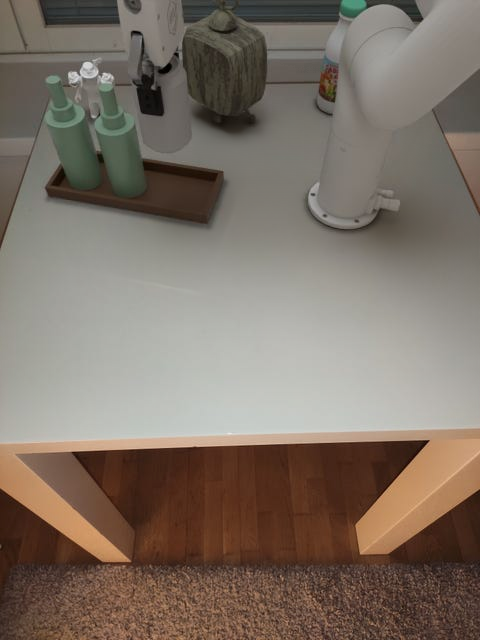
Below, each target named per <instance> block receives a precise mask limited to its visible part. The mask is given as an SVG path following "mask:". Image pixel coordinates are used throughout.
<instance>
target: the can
mask: <svg viewBox="0 0 480 640" xmlns="http://www.w3.org/2000/svg"><path fill="white" fill-rule="evenodd" d="M143 60H145V61H151V59H150V58H149V56H148V55H143ZM181 64H182V63H181V59H180V58H179V59H178V58H177V57H176V56H175V55H173V56H172V58H171V59H170V61H169V63H168V68H169V72H168V73H166V68H165V67H163V68H161V67H160V66H158V86H161V91H162V98H163V106H164V115H163V116H154V115H146V114H142V113H141V111H140V106H139V101H138V96H137V90H136V88H135V87H134V84H133V82H132V79H131V78H130V83H131V88H132V93H133V99H134V105H135V109H136V114H137V119H138V124H139V130H140V134H141V140H142V143H143V145H145V146H146V147H147V148H149V149H151V150H152V151H154V152H156V153H159V154H174V153H178V152H179V151H181V150H183V149H184V148H185V147H186V146H187V145H189V143H190V142H191V140H192V139H193V137H192V136H193V131H192V121H191V110H190V109H191V107H190V97H189V96H190V95H189V94H188V86H187V75H186V71H185V69H184V68H183V65H181ZM142 70H143V73H144V74H147V75H148V76H149V77H150V78H151V67H149V66H142Z"/></svg>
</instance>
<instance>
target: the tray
mask: <svg viewBox="0 0 480 640" xmlns="http://www.w3.org/2000/svg"><path fill="white" fill-rule="evenodd" d="M96 152H97V156H98V159H99V162H100V166H101V169H102V173H103V181H102V183H101V184H100V185H99V186H97V187H96V188H94V189H91V190H87V191H81V190H75V189H73V188H72V187H71V186H70V185H69V183H68V180H67V178H66V175H65V172H64V170H63V167H62V164H61V162H60V164H59V165H58V166H57V167H56V169H55V171H54V172H53V174H52V175H51V177H50V178H49V180H48V182H47V183H46V184H45V186H44V190H45V192H46V195H47V196H48V197H51V198H54V199H55V198H56V199H61V200H66V201H67V200H68V201H74V202H78V203H85V204H91V205H95V206H101V207H107V208H113V209H118V210H124V211H130V212H136V213H141V214H148V215H154V216H159V217H163V218H170V219H175V220H182V221H186V222H187V221H188V222H191V223H192V222H193V223H198V224H203V225H204V224H205V225H208V224H209V221H210V218H211V216H212V213H213V210H214V209H215V205H216V202H217V200H218V198H219V194H220V192H221V188H222V187H223V183H224V181H225V176H224V175H225V173H224V170H221V169H220V170H219V169H213V168H208V167H201V166H195V165H189V164H183V163H175V162H170V161H164V160H157V159H151V158H145V157H142V161H143V166H144V171H145V176H146V181H147V188H146V190H145V191H144V192H143V193H142V194H141V195H139V196H137V197H134V198H121V197H118V196H117V195H115V194H114V193H113V191H112V188H111V184H110V181H109V177H108V174H107V170H106V166H105V163H104V159H103V156H102V152H101V150H96Z"/></svg>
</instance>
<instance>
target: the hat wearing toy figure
mask: <svg viewBox="0 0 480 640" xmlns="http://www.w3.org/2000/svg"><path fill="white" fill-rule="evenodd" d="M102 59H103V57H102V56H101V57H100V56H99V57H98V58H96V59H92V60H91V61H92V62H91V61H85V62H83V63H82V66H81V68H80V70H79V74H80V75H79V74H78V72H77V71H74V70H70V71H68V73H67V79H68V85H70V87H72V88H74V89H76V93H75V97H74V101H75V102H76V104H78V103H80V101H81V100H82V96H83V95H82V93H83V92H84V91H85V92H86V94H87V101H88V108H89V113H90V117H91V118H92V119H97V118H98V117H99V116H100V115H99V114H100V112H99V110H100V111H101V109H102V108H103V104H102V100H101V97H100V93H99V89H98V88H99V86H100V85H101V84H103V83H110V84H112V85H113V87H114V88H115V87H116V86H115V77H114V75H112V74H111V73H110V72H108V73H107V72H105V71H104V72H103V73H102V76H101V75H100V74H99V68H98V66H99V65H98V64H101V63H102V62H103V60H102ZM73 84H74V85H73ZM75 84H77V85H75ZM97 105H98V107H99V110H98V109H97Z"/></svg>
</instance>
